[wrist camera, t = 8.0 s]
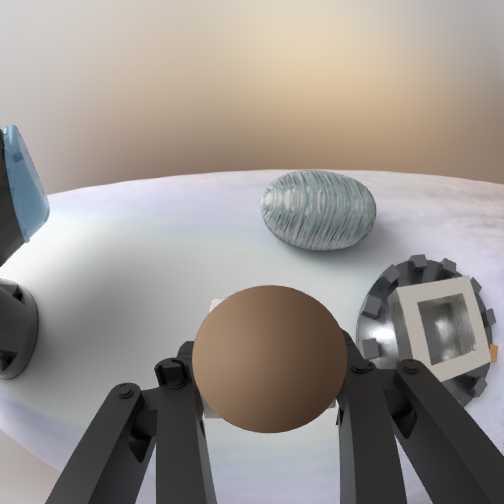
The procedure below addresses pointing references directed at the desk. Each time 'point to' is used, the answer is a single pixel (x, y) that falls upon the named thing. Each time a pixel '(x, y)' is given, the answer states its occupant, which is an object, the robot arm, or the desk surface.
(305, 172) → the grey green streaked ellipsoid
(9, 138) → the robot arm
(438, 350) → the sprocket plate
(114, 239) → the desk surface
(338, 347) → the drive pin
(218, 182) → the desk surface
